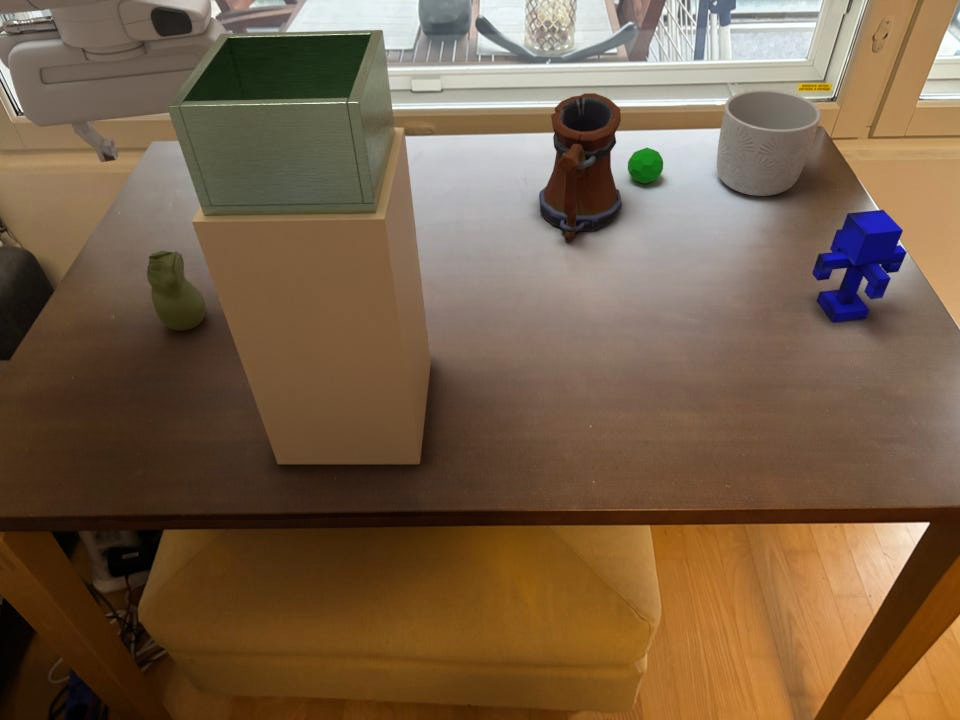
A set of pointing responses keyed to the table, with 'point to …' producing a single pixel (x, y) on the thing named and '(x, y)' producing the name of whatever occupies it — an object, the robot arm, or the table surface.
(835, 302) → the figurine
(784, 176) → the planter
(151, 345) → the table surface
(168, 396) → the table surface
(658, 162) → the polyhedron
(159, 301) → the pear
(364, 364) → the bin
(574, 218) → the mug
